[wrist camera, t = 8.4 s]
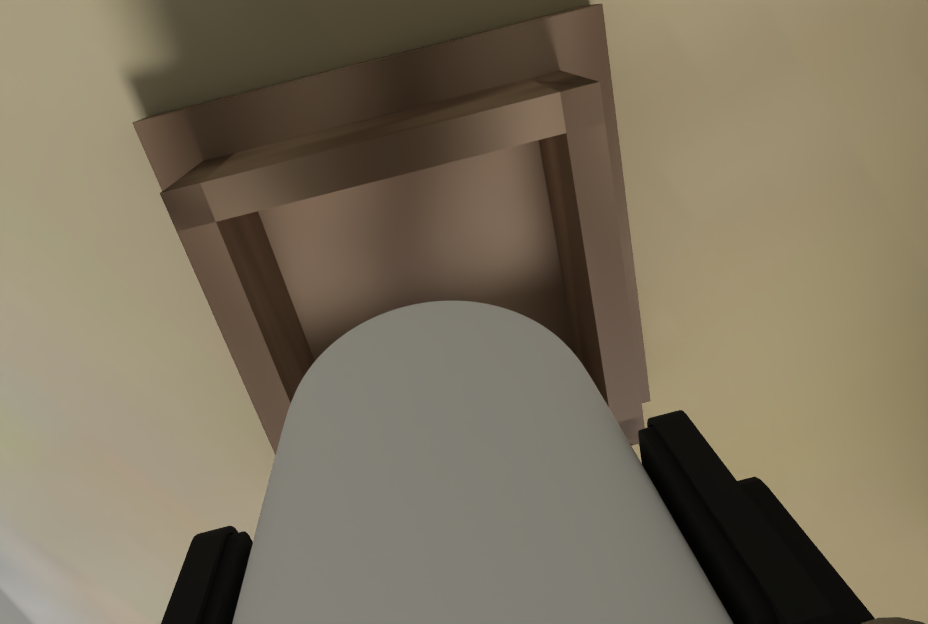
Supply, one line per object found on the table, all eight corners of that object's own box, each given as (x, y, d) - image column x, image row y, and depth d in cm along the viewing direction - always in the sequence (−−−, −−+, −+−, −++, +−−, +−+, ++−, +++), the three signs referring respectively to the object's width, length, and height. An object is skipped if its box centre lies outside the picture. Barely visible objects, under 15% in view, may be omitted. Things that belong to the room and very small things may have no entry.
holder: (590, 4, 20) (654, -1, 15) (639, 384, 26) (695, 466, 21) (146, 117, 20) (70, 147, 15) (298, 471, 26) (277, 573, 21)
